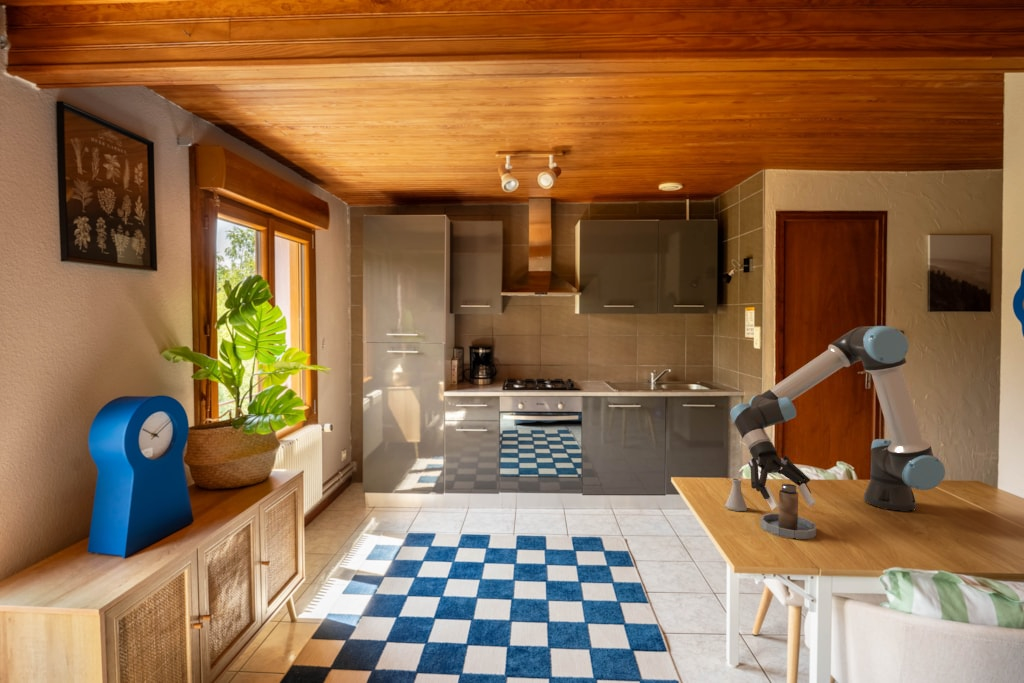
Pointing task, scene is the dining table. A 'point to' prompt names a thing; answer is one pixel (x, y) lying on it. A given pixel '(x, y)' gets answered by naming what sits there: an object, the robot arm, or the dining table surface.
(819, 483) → the dining table surface
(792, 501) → the pepper mill
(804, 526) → the round grey tray
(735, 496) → the flask
